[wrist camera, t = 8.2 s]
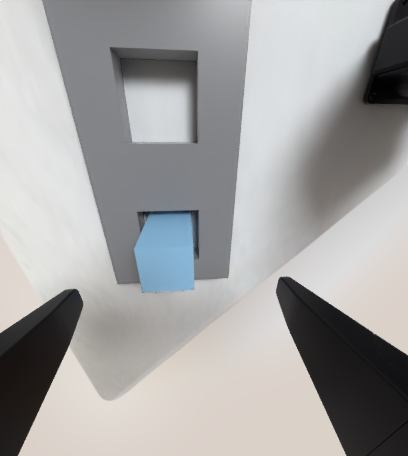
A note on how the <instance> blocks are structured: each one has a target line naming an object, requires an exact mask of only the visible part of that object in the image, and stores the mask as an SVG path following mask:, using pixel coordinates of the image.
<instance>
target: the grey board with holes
mask: <svg viewBox="0 0 408 456" xmlns="http://www.w3.org/2000/svg"><path fill="white" fill-rule="evenodd" d="M42 1H43V5H44V9H45V13H46V16H47V20H48V24H49V28H50V31H51V35H52V39H53V43H54V47H55V50H56V54H57V58H58V62H59V65H60V69H61V73H62V77H63V80H64V84H65V88H66V92H67V95H68V99H69V103H70V107H71V110H72V114H73V118H74V122H75V126H76V129H77V133H78V137H79V141H80V144H81V148H82V152H83V156H84V159H85V163H86V167H87V171H88V174H89V178H90V182H91V186H92V189H93V193H94V197H95V201H96V204H97V208H98V212H99V216H100V220H101V223H102V227H103V231H104V235H105V238H106V242H107V246H108V250H109V253H110V257H111V261H112V265H113V268H114V272H115V276H116V280H117V283H118V284H130V283H140V277H139V272H138V267H137V262H136V257H135V252H134V248H135V246H136V243H137V241H138V239H139V236H140V234H141V232H142V229H143V227H144V225H145V224H144V217H143V211H180V210H198V249H193V254H194V280H200V279H218V278H228V275H229V263H230V251H231V239H232V227H233V215H234V203H235V192H236V180H237V168H238V156H239V144H240V132H241V120H242V109H243V97H244V85H245V73H246V61H247V49H248V37H249V25H250V14H251V2H252V0H42ZM119 58H132V59H158V60H185V61H196V81H197V143H176V142H132V138H131V131H130V125H129V118H128V111H127V105H126V98H125V92H124V85H123V78H122V72H121V65H120V59H119Z"/></svg>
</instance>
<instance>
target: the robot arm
mask: <svg viewBox="0 0 408 456" xmlns="http://www.w3.org/2000/svg"><path fill="white" fill-rule="evenodd" d="M371 95H372V99H370V97H371ZM363 101H364V103H365V104H367V105H408V0H404V5H403V0H396V1H395V3H394V6H393V9H392V12H391V15H390V18H389V21H388V24H387V27H386V30H385V33H384V36H383V39H382V43H381V46H380V49H379V52H378V55H377V58H376V61H375V64H374V67H373V70H372V73H371V76H370V80H369V83H368V86H367V89H366V92H365V95H364V99H363ZM276 294H277V297H278V300H279V303H280V306H281V309H282V312H283V315H284V318H285V321H286V324H287V326H288V329H289V331H290V334H291V336H292V337H293V340H294V342H295V344H296V347H297V349H298V351H299V353H300V355H301V358H302V360H303V362H304V364H305V366H306V368H307V371H308V373H309V375H310V377H311V379H312V381H313V384H314V386H315V388H316V390H317V392H318V395H319V397H320V399H321V401H322V403H323V405H324V408H325V410H326V412H327V414H328V416H329V419H330V421H331V423H332V425H333V427H334V429H335V432H336V434H337V436H338V438H339V440H340V442H341V445H342V447H343V449H344V451H345V454H346V455H347V456H408V355H407V354H405V353H403V352H402V351H400V350H399V349H397V348H395V347H394V346H393V345H391V344H390V343H388V342H386V341H385V340H383V339H382V338H380V337H379V336H377V335H376V334H373V332H371V331H370V330H368V329H367V328H365V327H364V326H362V325H361V324H359V323H358V322H356V321H355V320H353V319H352V318H350V317H349V316H347V315H346V314H344V313H343V312H341V311H340V310H338V309H337V308H335V307H334V306H332V305H331V304H329V303H328V302H326V301H324V300H323V299H322V298H320V297H319V296H317V295H316V294H314V293H313V292H311V291H310V290H308V289H306V288H305V287H304V286H302V285H301V284H299V283H298V282H296V281H295V280H293V279H292V278H290V277H280V278H279V280H278V285H277V289H276ZM82 308H83V301H82V299H81V296H80V294H79V292H78V290H77V289H67V290H64V291H63V292H61V293H60V294H58V295H57V296H55V297H54V298H52V299H51V300H49V301H48V302H46V303H45V304H43V305H42V306H40V307H39V308H37V309H36V310H34V311H33V312H31V313H30V314H29V315H27V316H25V317H24V318H22V319H21V320H20V321H18V322H16V323H15V324H13V325H12V326H10V327H9V328H8V329H6V330H4V331H3V332H2V333H0V456H18V454H19V452H20V450H21V448H22V446H23V444H24V441H25V439H26V437H27V435H28V433H29V431H30V428H31V426H32V424H33V422H34V420H35V418H36V416H37V413H38V411H39V409H40V407H41V405H42V403H43V401H44V398H45V396H46V394H47V392H48V390H49V388H50V386H51V383H52V381H53V379H54V377H55V375H56V372H57V370H58V368H59V366H60V364H61V362H62V360H63V358H64V355H65V353H66V351H67V349H68V347H69V344H70V342H71V339H72V337H73V334H74V331H75V328H76V325H77V322H78V320H79V317H80V314H81V311H82Z"/></svg>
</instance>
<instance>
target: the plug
mask: <svg viewBox="0 0 408 456" xmlns="http://www.w3.org/2000/svg"><path fill="white" fill-rule="evenodd" d="M134 252H135V257H136V262H137V267H138V272H139V277H140V283H141V288H142V293H145V292H155V293H159V292H175V291H184V290H193V289H194V254H193V235H192V221H191V210H180V211H150V213H149V216H148V218H147V220H146V223H145V225H144V227H143V229H142V232H141V234H140V236H139V239H138V241H137V243H136V246H135V248H134Z"/></svg>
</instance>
